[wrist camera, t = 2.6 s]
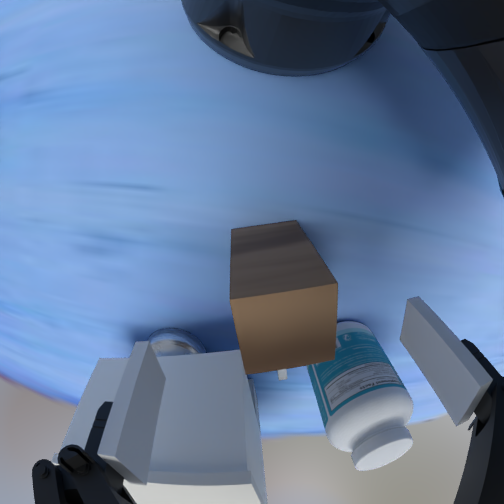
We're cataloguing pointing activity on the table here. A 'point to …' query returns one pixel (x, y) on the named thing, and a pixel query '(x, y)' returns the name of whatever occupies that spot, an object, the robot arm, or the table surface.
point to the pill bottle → (362, 399)
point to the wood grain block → (281, 299)
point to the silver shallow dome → (175, 343)
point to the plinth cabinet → (190, 430)
